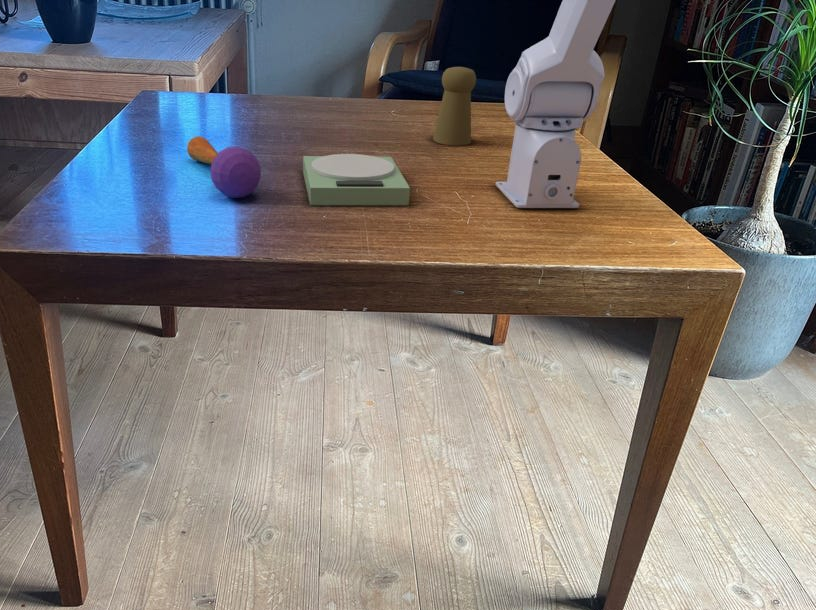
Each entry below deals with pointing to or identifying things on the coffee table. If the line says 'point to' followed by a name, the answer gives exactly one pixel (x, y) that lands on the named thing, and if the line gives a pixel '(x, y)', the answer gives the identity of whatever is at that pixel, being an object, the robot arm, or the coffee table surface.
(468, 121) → the cork
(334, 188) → the scale
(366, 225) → the coffee table surface
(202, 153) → the maraca
